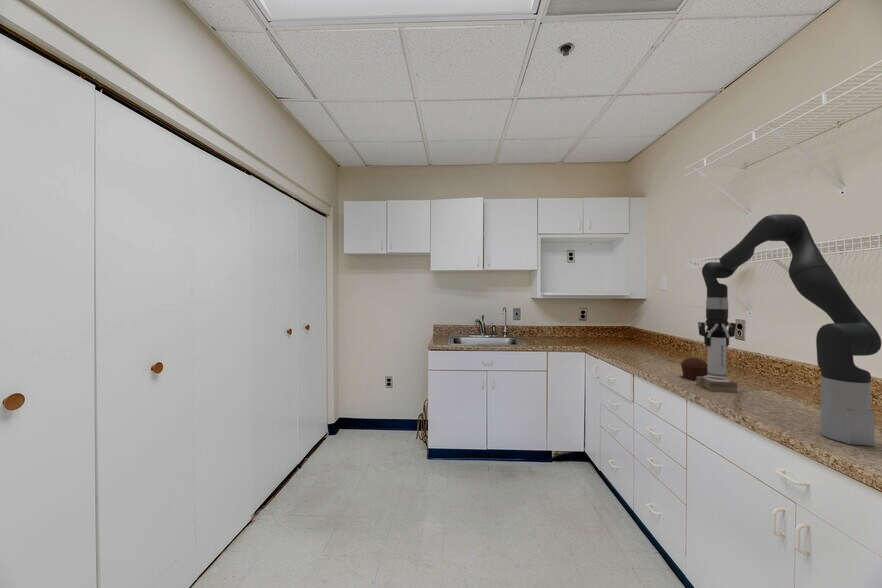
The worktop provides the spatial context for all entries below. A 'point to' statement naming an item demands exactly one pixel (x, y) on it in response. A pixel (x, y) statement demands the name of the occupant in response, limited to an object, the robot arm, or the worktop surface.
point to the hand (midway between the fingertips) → (716, 346)
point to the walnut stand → (716, 384)
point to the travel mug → (717, 354)
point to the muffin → (694, 368)
